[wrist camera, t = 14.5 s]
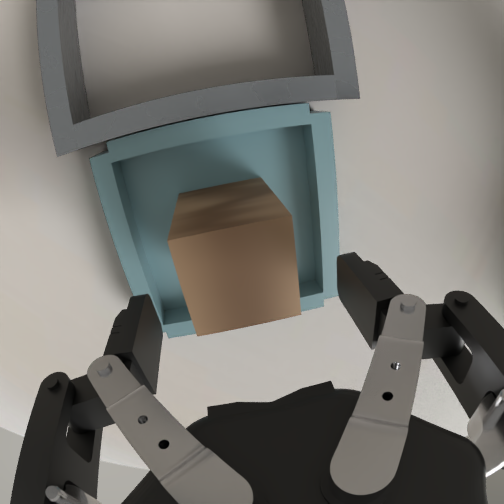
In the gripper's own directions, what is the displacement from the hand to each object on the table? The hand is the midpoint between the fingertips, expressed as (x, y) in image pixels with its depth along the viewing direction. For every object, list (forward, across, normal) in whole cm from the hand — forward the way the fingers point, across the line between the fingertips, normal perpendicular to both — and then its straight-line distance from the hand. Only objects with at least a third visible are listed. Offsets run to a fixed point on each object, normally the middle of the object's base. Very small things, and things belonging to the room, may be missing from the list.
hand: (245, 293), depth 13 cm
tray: (+8, 0, 0) cm, 8 cm away
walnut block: (+8, 0, 0) cm, 8 cm away
